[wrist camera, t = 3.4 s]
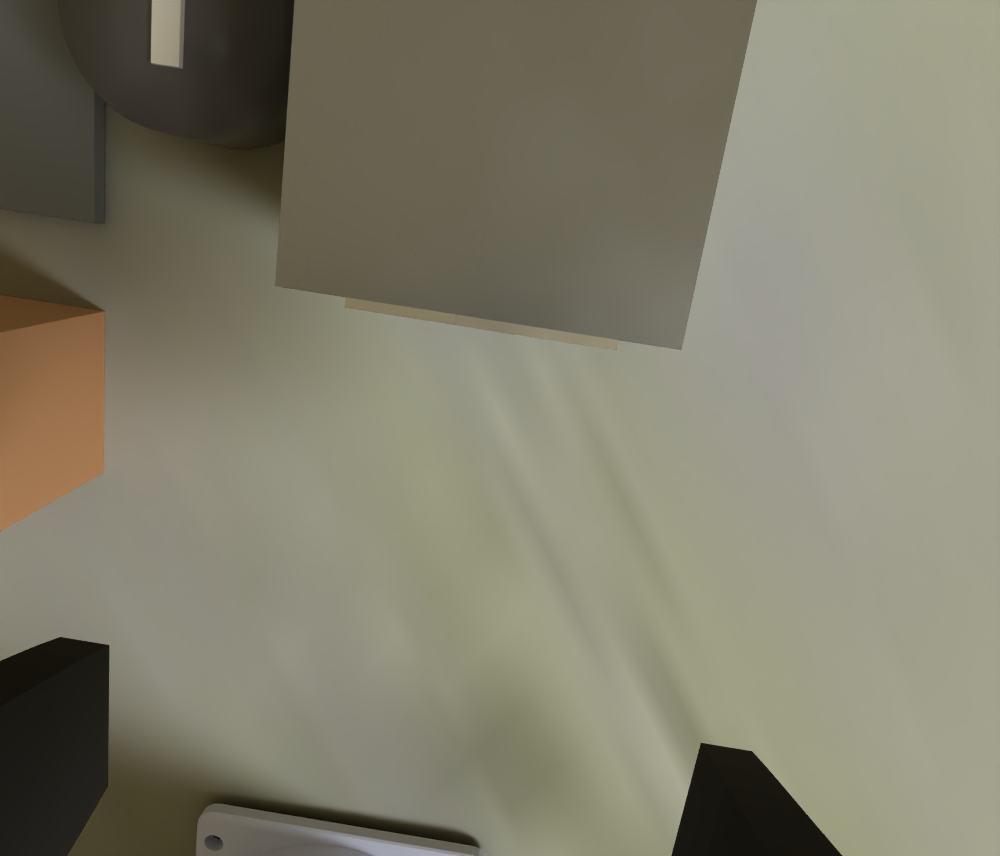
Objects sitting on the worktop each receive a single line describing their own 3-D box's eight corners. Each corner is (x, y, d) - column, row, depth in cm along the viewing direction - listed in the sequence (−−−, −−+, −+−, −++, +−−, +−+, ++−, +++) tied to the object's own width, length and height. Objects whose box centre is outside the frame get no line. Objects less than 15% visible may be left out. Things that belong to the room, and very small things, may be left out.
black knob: (324, 162, 16) (273, 148, 13) (143, 134, 16) (52, 114, 13) (340, -44, 15) (289, -110, 12) (147, -72, 15) (50, -145, 12)
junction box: (647, 326, 17) (710, 389, 10) (348, 279, 17) (231, 314, 11) (740, -127, 14) (893, -401, 8) (390, -179, 15) (272, -489, 8)
